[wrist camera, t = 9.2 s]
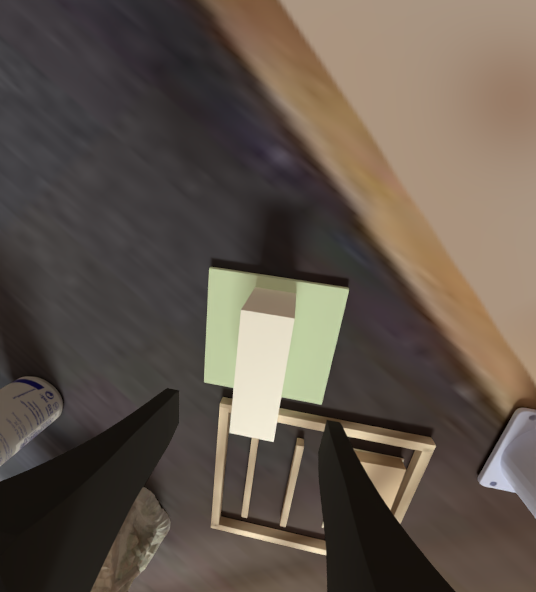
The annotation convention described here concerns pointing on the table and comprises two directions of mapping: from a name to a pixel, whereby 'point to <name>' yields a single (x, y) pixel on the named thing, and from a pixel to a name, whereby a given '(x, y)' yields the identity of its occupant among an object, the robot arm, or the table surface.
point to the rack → (402, 500)
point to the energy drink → (26, 412)
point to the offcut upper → (383, 474)
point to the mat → (305, 336)
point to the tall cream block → (261, 362)
